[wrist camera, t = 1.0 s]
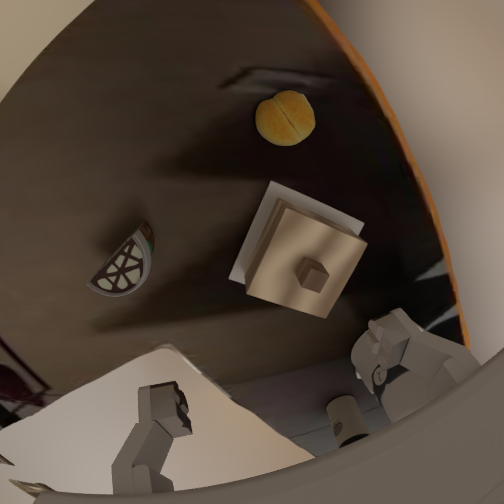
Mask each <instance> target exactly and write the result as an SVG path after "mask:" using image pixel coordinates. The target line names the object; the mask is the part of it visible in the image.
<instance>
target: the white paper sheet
mask: <svg viewBox="0 0 504 504" xmlns="http://www.w3.org/2000/svg"><path fill="white" fill-rule="evenodd" d="M277 198H281V199H283V200H286V201H288V202H290V203H293V204H295V205H297V206H300V207H302V208H304V209H307V210H309V211H311V212H313V213H316V214H318V215H320V216H323V217H325V218H327V219H329V220H331V221H334V222H336V223H338V224H340V225H342V226H345V227H347V228H349V229H351V230H352V231H353V232H354V233H356V234H357V235H359V233H360V231H361V229H362V227H363V225H364V223H363V222H361V221H359V220H357V219H355V218H353V217H351V216H349V215H347V214H345V213H343V212H341V211H338V210H336V209H334V208H332V207H330V206H328V205H326V204H323V203H321V202H319V201H317V200H315V199H312V198H310V197H308V196H306V195H304V194H301V193H299V192H297V191H294V190H292V189H290V188H288V187H285V186H283V185H281V184H278V183H276V182H274V181H270V183H269V186H268V188H267V190H266V193H265V195H264V197H263V199H262V202H261V204H260V206H259V208H258V211H257V213H256V215H255V218H254V220H253V222H252V224H251V227H250V229H249V231H248V234H247V236H246V238H245V241H244V243H243V245H242V247H241V250H240V252H239V254H238V257H237V259H236V261H235V264H234V266H233V268H232V271H231V273H230V275H229V279H231V280H234V281H237V282H240V283H243V284H245V278H244V271H245V269H246V267H247V264H248V262H249V260H250V258H251V256H252V253H253V251H254V249H255V247H256V244H257V242H258V240H259V238H260V236H261V233H262V231H263V229H264V227H265V224H266V222H267V220H268V218H269V216H270V213H271V211H272V209H273V207H274V204H275V202H276V200H277Z"/></svg>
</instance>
